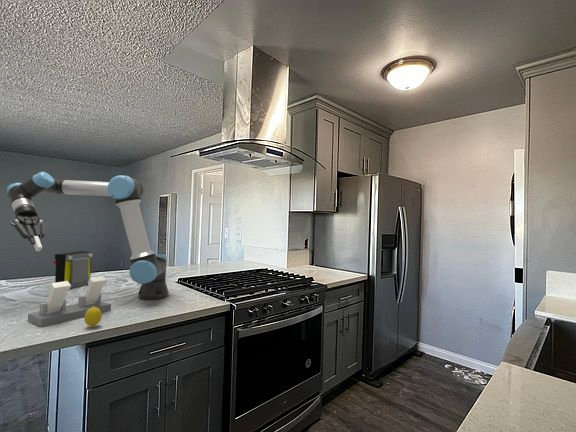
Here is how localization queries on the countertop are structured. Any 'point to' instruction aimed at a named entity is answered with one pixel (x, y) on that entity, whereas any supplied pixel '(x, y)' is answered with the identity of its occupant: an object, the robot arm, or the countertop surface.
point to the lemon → (93, 316)
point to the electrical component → (73, 268)
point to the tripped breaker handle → (57, 295)
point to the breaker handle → (94, 289)
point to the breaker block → (65, 312)
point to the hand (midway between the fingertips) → (39, 249)
